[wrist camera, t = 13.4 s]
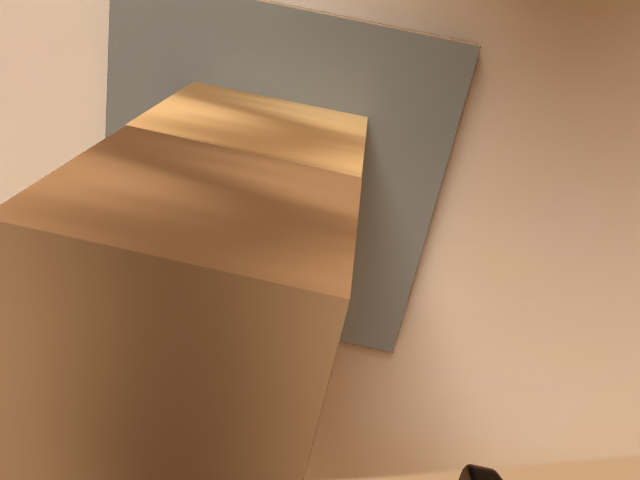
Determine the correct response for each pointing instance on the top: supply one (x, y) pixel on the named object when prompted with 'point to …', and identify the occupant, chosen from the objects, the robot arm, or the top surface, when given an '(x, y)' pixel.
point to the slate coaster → (321, 91)
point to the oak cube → (262, 126)
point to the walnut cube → (171, 312)
